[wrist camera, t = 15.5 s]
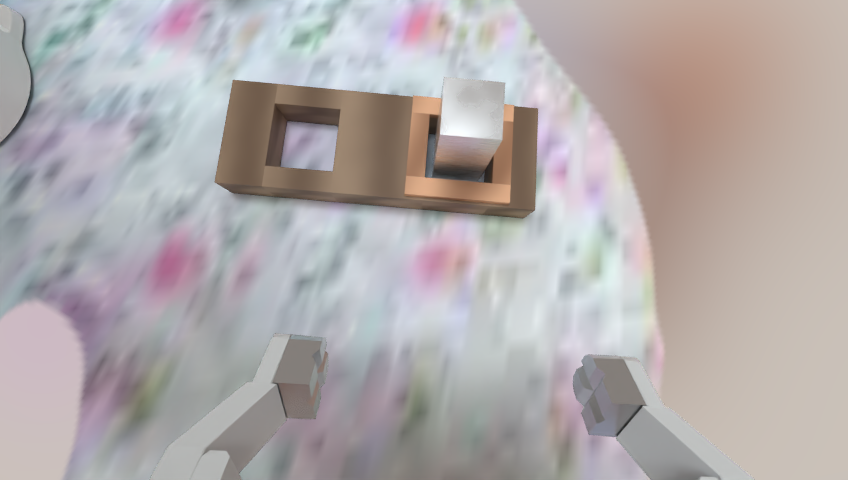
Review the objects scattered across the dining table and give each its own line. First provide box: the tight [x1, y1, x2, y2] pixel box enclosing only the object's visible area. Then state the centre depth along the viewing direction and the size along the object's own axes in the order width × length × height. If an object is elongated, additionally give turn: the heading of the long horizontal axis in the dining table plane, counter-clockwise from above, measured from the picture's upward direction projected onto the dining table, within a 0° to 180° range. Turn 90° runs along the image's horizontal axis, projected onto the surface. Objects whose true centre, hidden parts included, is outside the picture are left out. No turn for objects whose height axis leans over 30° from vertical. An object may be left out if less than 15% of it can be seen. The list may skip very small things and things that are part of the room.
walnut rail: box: [215, 80, 538, 218], centre depth 31 cm, size 26×9×4 cm, turn 86°
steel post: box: [431, 77, 505, 182], centre depth 28 cm, size 4×4×10 cm
